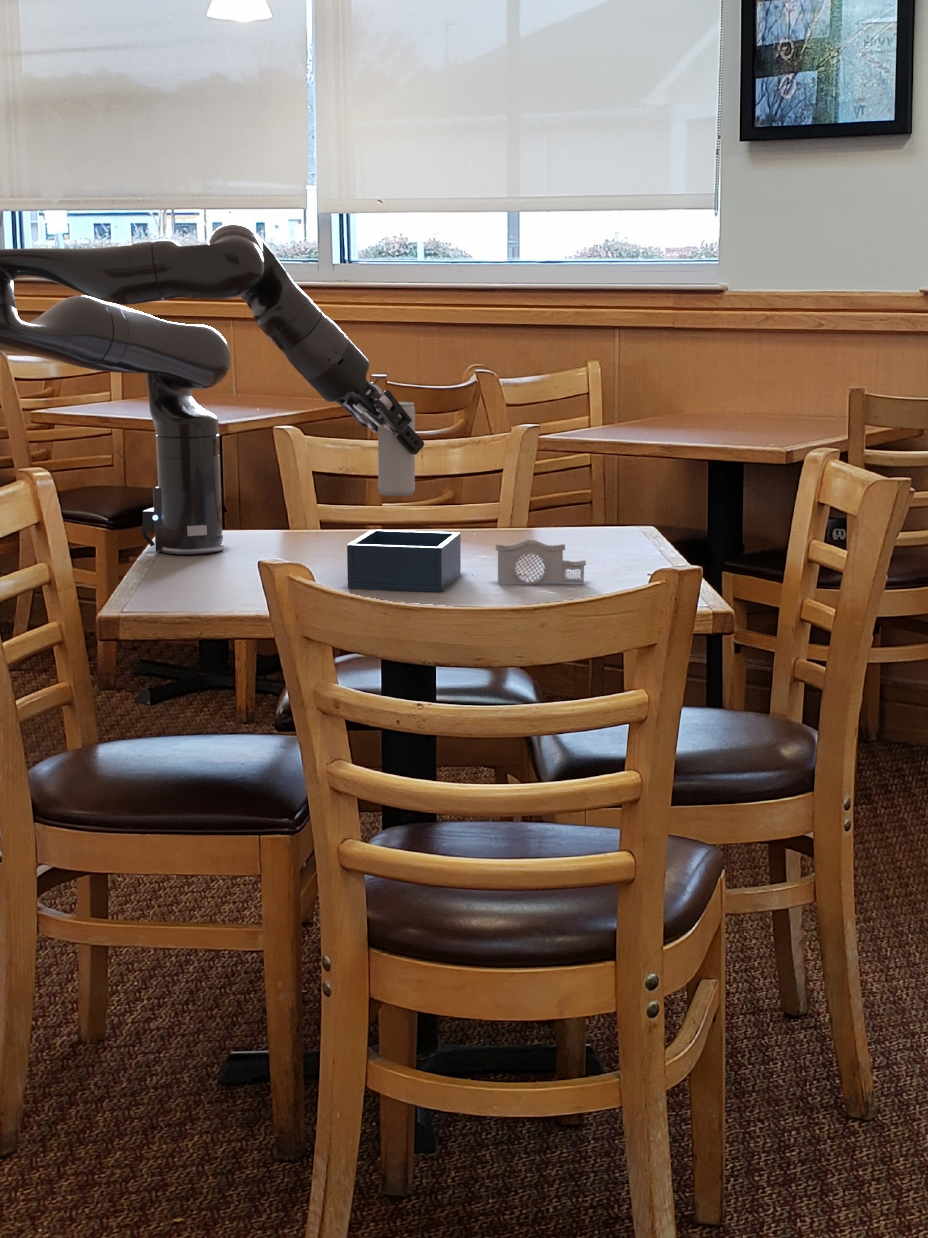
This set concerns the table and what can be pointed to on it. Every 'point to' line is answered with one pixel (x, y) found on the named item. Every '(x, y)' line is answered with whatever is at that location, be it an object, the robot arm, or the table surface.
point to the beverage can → (395, 460)
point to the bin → (404, 560)
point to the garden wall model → (551, 561)
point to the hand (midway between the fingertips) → (409, 447)
